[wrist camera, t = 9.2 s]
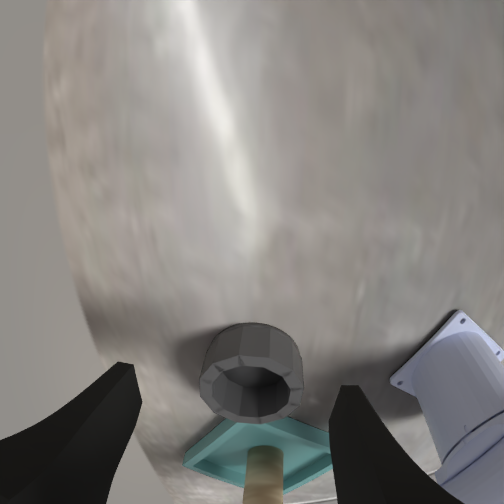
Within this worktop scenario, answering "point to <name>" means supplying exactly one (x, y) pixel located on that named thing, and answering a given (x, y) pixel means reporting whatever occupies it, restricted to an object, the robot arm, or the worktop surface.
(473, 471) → the robot arm
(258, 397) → the dark gray cup
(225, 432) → the teal tray
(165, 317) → the worktop surface
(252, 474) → the birch dowel
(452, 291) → the worktop surface
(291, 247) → the worktop surface
